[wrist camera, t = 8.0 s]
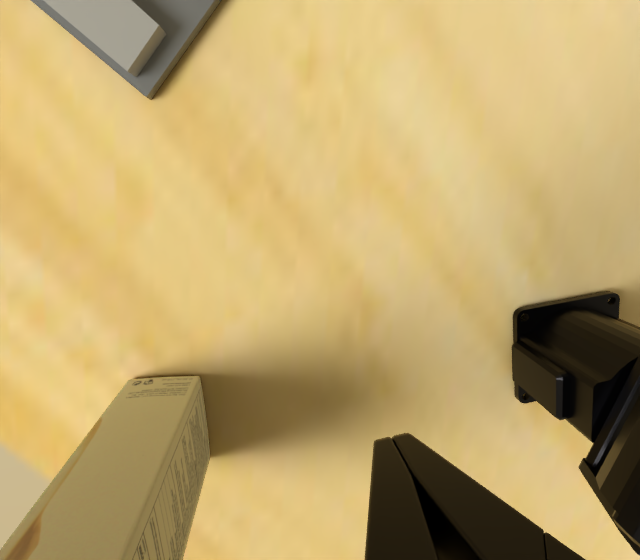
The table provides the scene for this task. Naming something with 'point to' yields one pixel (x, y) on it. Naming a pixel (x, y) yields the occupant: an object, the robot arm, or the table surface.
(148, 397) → the skincare box
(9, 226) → the table surface
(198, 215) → the table surface
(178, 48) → the console
